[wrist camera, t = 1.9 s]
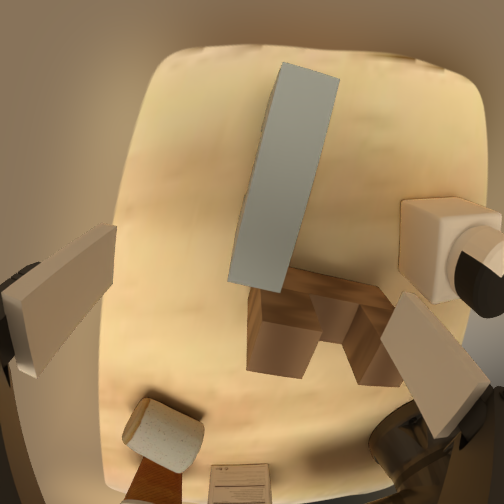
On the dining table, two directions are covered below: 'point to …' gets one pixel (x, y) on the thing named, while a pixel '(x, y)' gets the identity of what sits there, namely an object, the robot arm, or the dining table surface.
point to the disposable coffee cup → (154, 485)
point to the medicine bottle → (454, 252)
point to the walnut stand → (319, 327)
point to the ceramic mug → (163, 435)
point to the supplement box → (240, 484)
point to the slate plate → (282, 176)
